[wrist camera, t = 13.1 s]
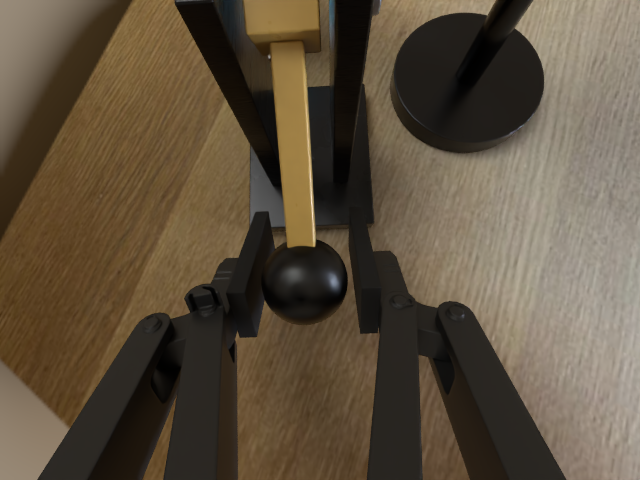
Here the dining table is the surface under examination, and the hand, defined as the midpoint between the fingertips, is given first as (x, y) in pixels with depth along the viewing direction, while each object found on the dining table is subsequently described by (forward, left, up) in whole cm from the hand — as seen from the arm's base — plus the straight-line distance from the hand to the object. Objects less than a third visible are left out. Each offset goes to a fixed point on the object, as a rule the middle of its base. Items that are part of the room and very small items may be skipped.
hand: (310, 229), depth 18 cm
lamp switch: (0, +2, +5) cm, 6 cm away
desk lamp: (+11, +11, -3) cm, 15 cm away
